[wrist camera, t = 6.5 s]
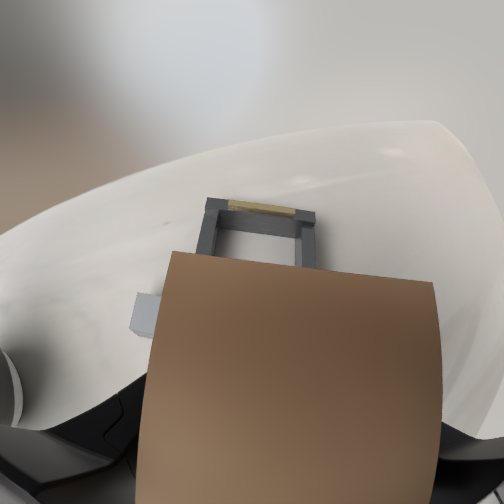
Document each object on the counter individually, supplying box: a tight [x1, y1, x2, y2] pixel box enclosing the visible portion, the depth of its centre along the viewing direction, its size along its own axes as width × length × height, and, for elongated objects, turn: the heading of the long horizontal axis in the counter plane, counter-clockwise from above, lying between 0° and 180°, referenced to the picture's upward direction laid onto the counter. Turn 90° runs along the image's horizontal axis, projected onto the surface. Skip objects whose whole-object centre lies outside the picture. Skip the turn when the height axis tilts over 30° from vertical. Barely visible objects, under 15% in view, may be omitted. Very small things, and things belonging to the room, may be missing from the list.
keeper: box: [196, 197, 316, 269], centre depth 24 cm, size 8×10×3 cm
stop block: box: [135, 251, 443, 504], centre depth 8 cm, size 5×5×12 cm
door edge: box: [129, 292, 161, 339], centre depth 21 cm, size 3×18×2 cm, turn 85°
